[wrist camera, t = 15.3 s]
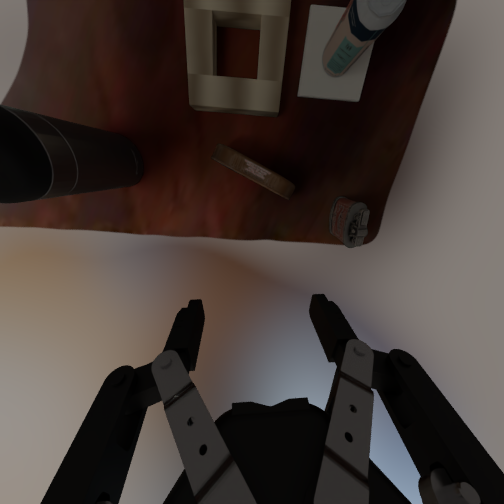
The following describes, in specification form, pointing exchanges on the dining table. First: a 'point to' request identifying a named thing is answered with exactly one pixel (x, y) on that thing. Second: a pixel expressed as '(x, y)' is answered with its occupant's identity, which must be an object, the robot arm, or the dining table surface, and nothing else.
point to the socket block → (205, 55)
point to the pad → (312, 70)
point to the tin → (253, 171)
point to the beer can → (358, 32)
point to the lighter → (349, 221)
